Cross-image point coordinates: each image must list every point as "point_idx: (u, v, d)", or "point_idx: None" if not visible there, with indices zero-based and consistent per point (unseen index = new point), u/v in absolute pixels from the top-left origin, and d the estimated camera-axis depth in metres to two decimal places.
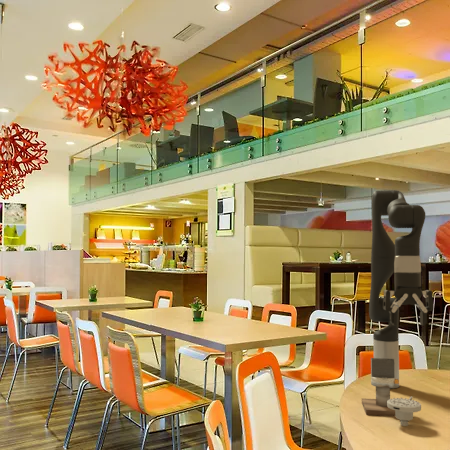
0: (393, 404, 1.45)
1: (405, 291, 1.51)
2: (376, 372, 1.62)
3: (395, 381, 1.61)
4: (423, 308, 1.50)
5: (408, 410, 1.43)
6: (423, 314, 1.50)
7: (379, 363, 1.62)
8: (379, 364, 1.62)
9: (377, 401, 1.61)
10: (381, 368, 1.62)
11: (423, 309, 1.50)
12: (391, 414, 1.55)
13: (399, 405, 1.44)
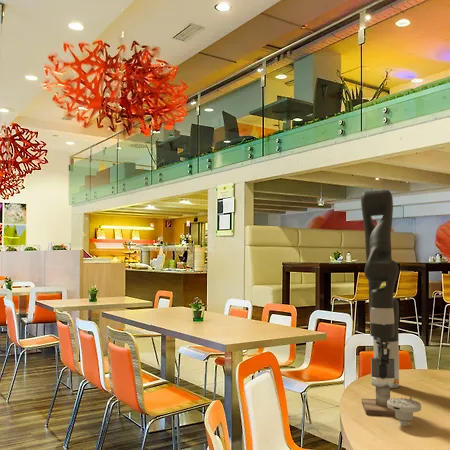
0: (393, 404, 1.45)
1: None
2: (376, 372, 1.62)
3: (395, 381, 1.61)
4: None
5: (408, 410, 1.43)
6: None
7: None
8: None
9: (377, 401, 1.61)
10: None
11: None
12: (391, 414, 1.55)
13: (399, 405, 1.44)
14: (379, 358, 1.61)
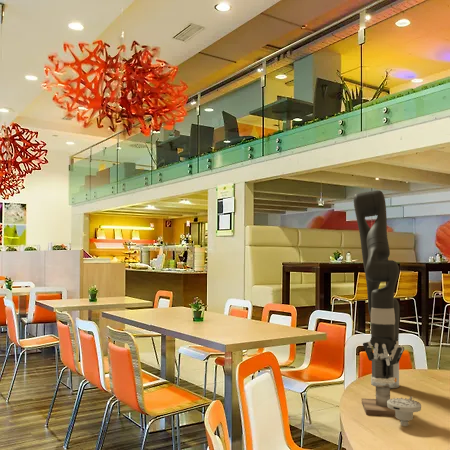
0: (393, 404, 1.45)
1: None
2: (379, 373, 1.61)
3: None
4: None
5: (408, 410, 1.43)
6: None
7: (381, 363, 1.61)
8: (382, 364, 1.61)
9: (377, 401, 1.61)
10: (383, 368, 1.61)
11: None
12: (391, 414, 1.55)
13: (399, 405, 1.44)
14: (388, 358, 1.60)
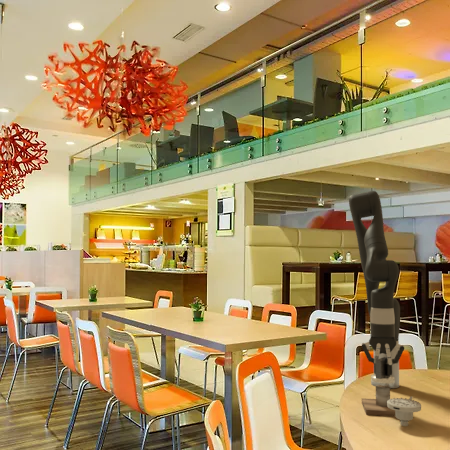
0: (393, 404, 1.45)
1: None
2: (382, 373, 1.60)
3: None
4: None
5: (408, 410, 1.43)
6: None
7: (383, 363, 1.61)
8: (384, 364, 1.61)
9: (377, 401, 1.61)
10: (384, 368, 1.61)
11: None
12: (391, 414, 1.55)
13: (399, 405, 1.44)
14: (390, 358, 1.61)
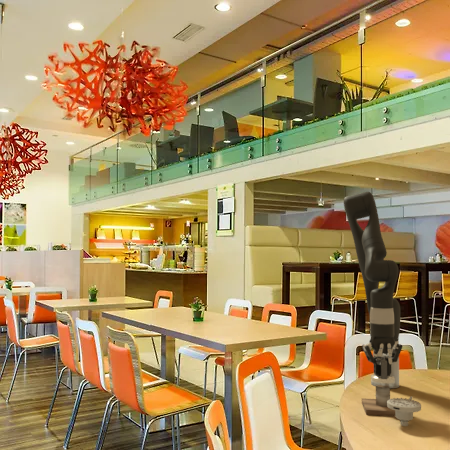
0: (393, 404, 1.45)
1: None
2: None
3: None
4: None
5: (408, 410, 1.43)
6: None
7: None
8: None
9: (377, 401, 1.61)
10: None
11: None
12: (391, 414, 1.55)
13: (399, 405, 1.44)
14: (390, 357, 1.62)
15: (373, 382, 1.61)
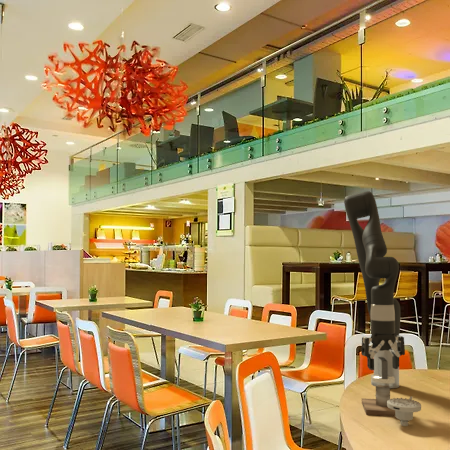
0: (393, 404, 1.45)
1: None
2: None
3: None
4: None
5: (408, 410, 1.43)
6: None
7: None
8: None
9: (377, 401, 1.61)
10: None
11: None
12: (391, 414, 1.55)
13: (399, 405, 1.44)
14: (396, 351, 1.62)
15: (373, 382, 1.61)
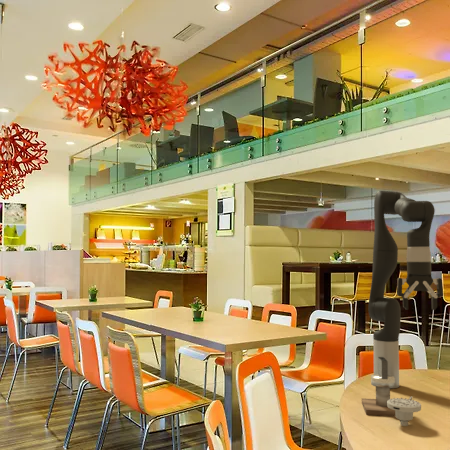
0: (393, 404, 1.45)
1: None
2: None
3: None
4: None
5: (408, 410, 1.43)
6: None
7: None
8: None
9: (377, 401, 1.61)
10: None
11: None
12: (391, 414, 1.55)
13: (399, 405, 1.44)
14: (433, 292, 1.66)
15: (373, 382, 1.61)
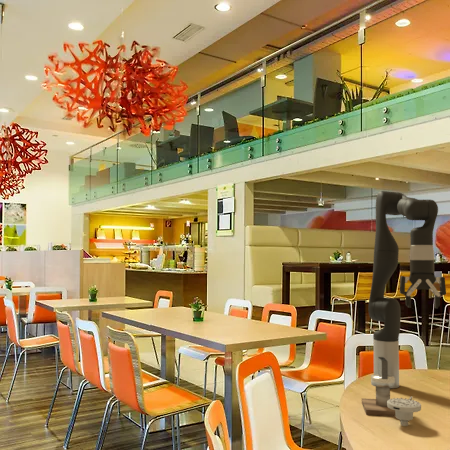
0: (393, 404, 1.45)
1: None
2: None
3: None
4: None
5: (408, 410, 1.43)
6: None
7: None
8: None
9: (377, 401, 1.61)
10: None
11: None
12: (391, 414, 1.55)
13: (399, 405, 1.44)
14: (436, 290, 1.66)
15: (373, 382, 1.61)
